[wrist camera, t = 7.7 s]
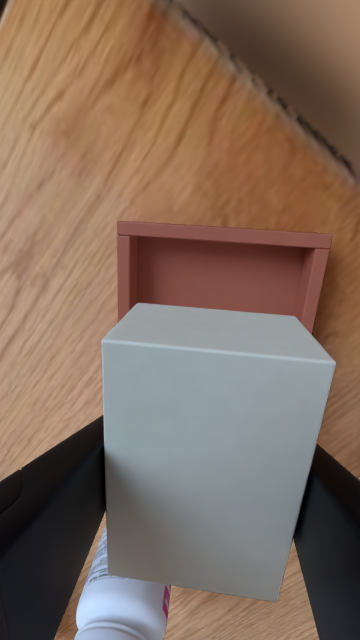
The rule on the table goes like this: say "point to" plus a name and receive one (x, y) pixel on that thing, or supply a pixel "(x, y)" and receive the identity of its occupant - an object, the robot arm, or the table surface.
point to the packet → (208, 444)
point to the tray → (221, 268)
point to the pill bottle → (120, 605)
